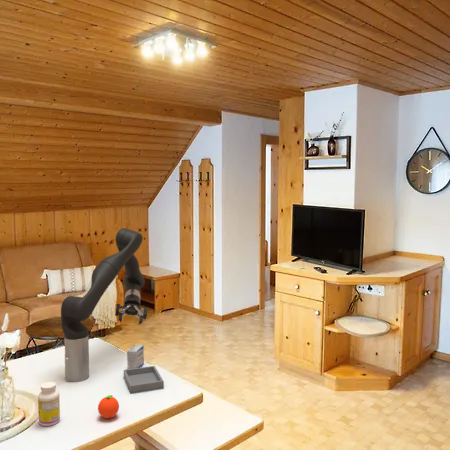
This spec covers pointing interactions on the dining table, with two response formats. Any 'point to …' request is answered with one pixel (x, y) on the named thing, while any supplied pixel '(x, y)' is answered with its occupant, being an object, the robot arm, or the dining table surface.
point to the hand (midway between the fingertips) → (130, 321)
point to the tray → (143, 379)
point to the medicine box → (135, 357)
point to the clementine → (108, 407)
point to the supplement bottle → (49, 404)
